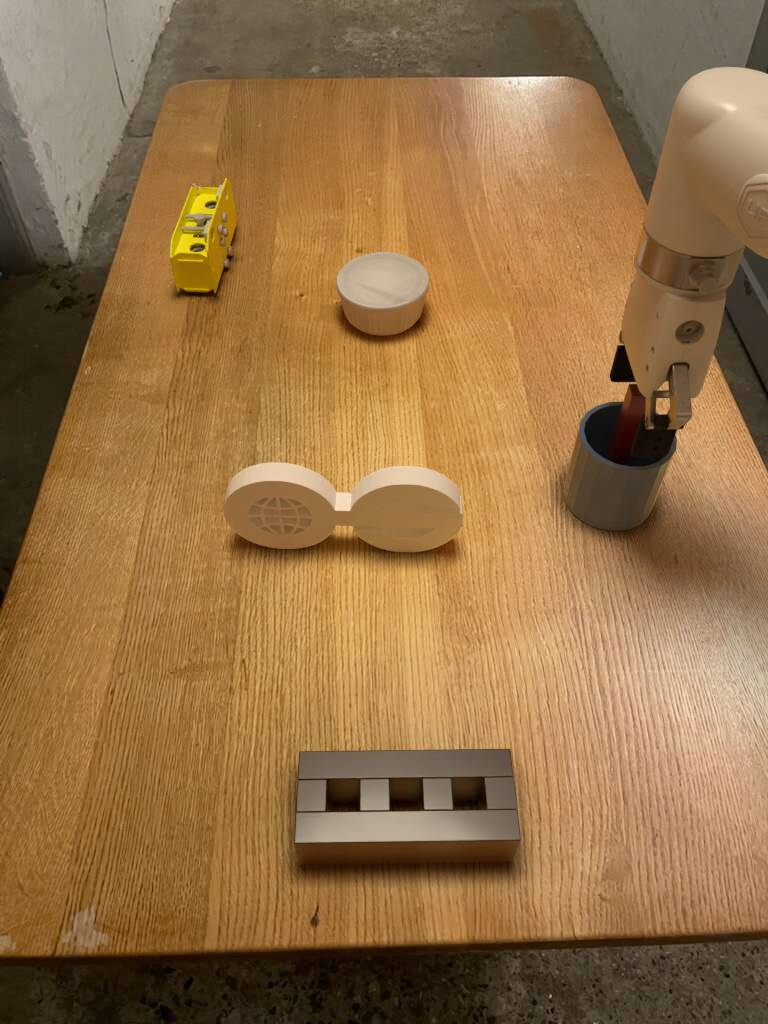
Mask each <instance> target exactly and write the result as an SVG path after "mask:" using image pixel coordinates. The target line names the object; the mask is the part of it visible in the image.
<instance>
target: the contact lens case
mask: <svg viewBox="0 0 768 1024" xmlns="http://www.w3.org/2000/svg"><path fill="white" fill-rule="evenodd" d="M223 503H224V504H223V515H224V520H225V522H226V524H227V525H228V526H229V527H230V528H231V529H232V530H233V532H235V533H236V534H237V535H239V536H240V537H241V538H243V539H245V540H247V541H249V542H251V543H252V544H256V545H259V546H262V547H265V548H270V549H271V548H272V549H278V550H296V549H303V548H304V549H305V548H308V547H312V546H315V545H317V544H320V543H321V542H323V541H325V540H327V538H328V537H330V536H331V534H333V532H334V531H335V529H336V527H337V526H339V527H340V526H341V527H353V531H352V532H353V533H354V534H355V535H357V536H358V538H359V539H361V540H362V541H364V542H365V543H367V544H369V545H371V546H372V547H375V548H378V549H382V550H385V551H389V552H395V553H420V552H426V551H429V550H433V549H436V548H439V547H441V546H443V545H445V544H447V543H449V542H450V541H451V540H452V539H454V538H455V537H456V536H457V535H458V534H459V532H460V531H461V529H462V526H463V517H464V515H463V514H464V513H463V496H462V495H461V490H460V488H459V487H458V486H457V485H456V483H455V482H454V481H452V479H450V478H449V477H447V476H446V475H444V474H443V473H441V472H439V471H436V470H434V469H430V468H427V467H423V466H417V465H393V466H387V467H383V468H380V469H377V470H375V471H372V472H370V473H369V474H367V475H365V476H364V477H362V478H361V479H360V480H359V481H358V482H357V483H356V484H355V485H354V486H353V489H352V491H351V492H346V491H345V492H343V491H342V492H341V491H339V492H338V491H337V490H336V489H335V486H333V484H332V483H331V482H330V481H329V480H328V479H327V478H325V477H324V476H323V475H321V473H318V472H317V471H315V470H313V469H310V468H308V467H305V466H302V465H299V464H295V463H290V462H281V461H279V462H277V461H276V462H275V461H273V462H272V461H271V462H269V461H268V462H263V463H256V464H254V465H250V466H248V467H245V468H244V469H242V470H240V471H239V472H237V473H236V474H235V475H234V476H233V477H232V478H231V479H230V481H229V483H228V485H227V489H226V493H225V499H224V502H223Z"/></svg>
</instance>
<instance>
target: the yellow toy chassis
mask: <svg viewBox="0 0 768 1024" xmlns="http://www.w3.org/2000/svg"><path fill="white" fill-rule="evenodd" d="M203 222H204V223H203ZM236 222H237V223H236ZM237 224H238V219H237V212H236V204H235V199H234V193H233V185H232V181H231V179H228V178H227V177H225V178H224V181H223V183H222V184H219V185H218V187H209V186H208V187H207V186H202V187H201V188H197V187H196V186H192V185H191V186H190V189H189V191H188V194H187V197H186V199H185V202H184V204H183V207H182V210H181V212H180V214H179V217H178V220H177V223H176V226H175V229H174V231H173V233H172V236H171V238H170V248H169V250H170V251H169V261H170V265H171V272H172V276H173V279H174V282H175V283H174V284H175V287H176V292H177V293H178V292H180V290H183V291H185V292H188V293H189V292H190V293H193V292H194V293H209V292H212V291H213V293H214V294H217V291H218V288H219V283H220V280H221V278H222V275H223V274H222V273H223V271H224V268H225V269H229V267H230V260H229V258H227V257H231V256H233V254H234V253H233V252H234V251H233V247H232V246H231V244H232V240H233V238H234V235H235V231H236V228H237ZM198 235H199V238H197V236H198Z"/></svg>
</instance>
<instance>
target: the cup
mask: <svg viewBox="0 0 768 1024" xmlns="http://www.w3.org/2000/svg"><path fill="white" fill-rule="evenodd" d="M623 402H624V401H608V402H604V403H601V404H597V405H596V406H593V408H590V409H589V410H588V411H587V412H586V413H585V414H584V416H583V417H582V418H581V420H580V421H579V426H578V429H577V433H576V436H575V441H574V444H573V447H572V452H571V457H570V459H569V460H570V461H569V464H568V468H567V472H566V476H565V480H564V484H563V490H562V491H563V498H564V501H565V504H566V506H567V508H568V509H569V511H571V513H572V514H573V515H574V516H575V517H576V518H578V519H579V520H580V521H582V522H583V523H585V524H586V525H589V526H591V527H593V528H595V529H596V528H597V529H600V530H603V531H611V532H621V531H627V530H630V529H631V530H632V529H633V528H636V527H637V526H640V525H641V524H642V523H644V522H645V521H646V520H647V519H648V518H649V516H650V515H651V513H652V510H653V508H654V506H655V503H656V502H657V499H658V496H659V494H660V491H661V489H662V487H663V484H664V482H665V479H666V476H667V473H668V472H669V468H670V466H671V463H672V461H673V459H674V457H675V454H676V452H677V445H678V444H677V443H678V439H677V434H675V437H674V440H673V442H672V445H671V448H670V450H669V453H668V455H666V456H664V457H633V456H632V455H631V453H630V456H629V459H628V462H627V465H626V466H625V465H620V464H616V463H614V462H611V461H609V460H607V459H606V457H607V454H608V450H609V447H610V444H611V441H612V437H613V434H614V431H615V428H616V424H617V421H618V418H619V415H620V411H621V408H622V405H623ZM660 414H661V413H658V412H657V411H656V415H660ZM643 419H645V412H644V415H643V418H642V420H643Z"/></svg>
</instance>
